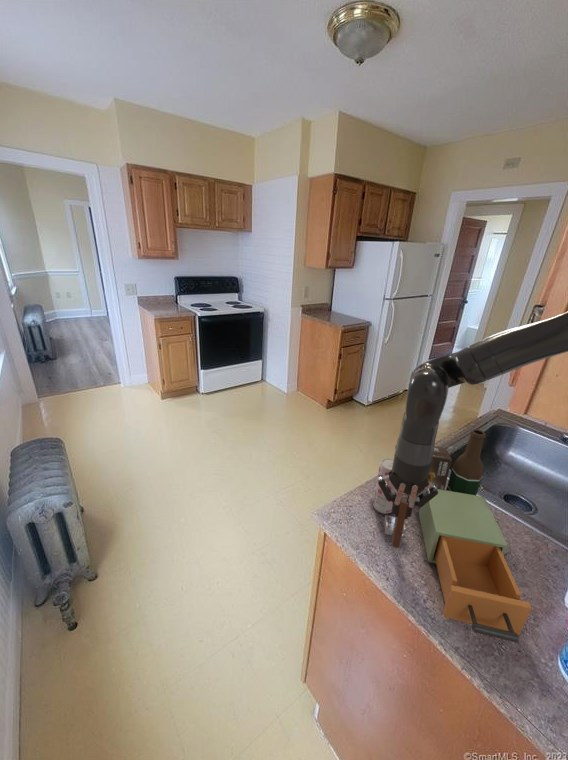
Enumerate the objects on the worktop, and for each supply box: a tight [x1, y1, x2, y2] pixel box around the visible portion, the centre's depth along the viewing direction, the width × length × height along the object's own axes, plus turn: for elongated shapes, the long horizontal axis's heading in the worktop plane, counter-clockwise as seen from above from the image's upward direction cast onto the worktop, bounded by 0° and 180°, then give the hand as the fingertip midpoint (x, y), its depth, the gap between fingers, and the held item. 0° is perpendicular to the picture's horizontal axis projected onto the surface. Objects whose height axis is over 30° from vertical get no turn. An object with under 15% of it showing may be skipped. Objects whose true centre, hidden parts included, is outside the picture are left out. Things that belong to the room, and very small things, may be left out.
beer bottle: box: [445, 429, 487, 496], centre depth 91 cm, size 8×8×24 cm
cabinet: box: [418, 489, 509, 565], centre depth 80 cm, size 16×15×10 cm
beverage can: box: [372, 457, 395, 515], centre depth 90 cm, size 6×6×15 cm
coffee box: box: [416, 446, 453, 496], centre depth 94 cm, size 9×6×16 cm
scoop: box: [383, 496, 408, 549], centre depth 79 cm, size 5×8×13 cm, turn 167°
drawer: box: [434, 535, 533, 643], centre depth 66 cm, size 19×13×8 cm
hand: (400, 515), depth 76 cm, fingers closed on scoop
